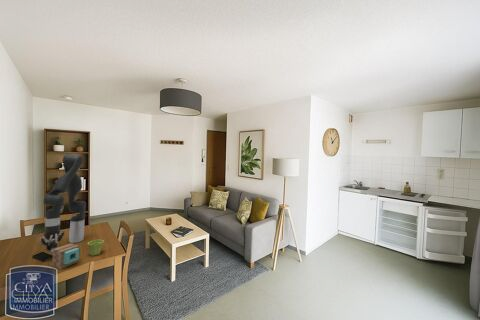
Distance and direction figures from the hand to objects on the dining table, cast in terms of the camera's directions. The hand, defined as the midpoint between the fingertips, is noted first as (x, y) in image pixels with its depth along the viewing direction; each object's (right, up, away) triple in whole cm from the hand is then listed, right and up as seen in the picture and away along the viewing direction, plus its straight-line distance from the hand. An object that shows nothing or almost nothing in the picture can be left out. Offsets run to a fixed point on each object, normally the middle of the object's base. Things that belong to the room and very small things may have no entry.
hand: (51, 249), depth 133 cm
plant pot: (+23, -8, +10) cm, 26 cm away
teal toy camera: (+20, -5, -7) cm, 21 cm away
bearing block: (+14, -7, -5) cm, 17 cm away
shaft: (+8, -1, -3) cm, 9 cm away
